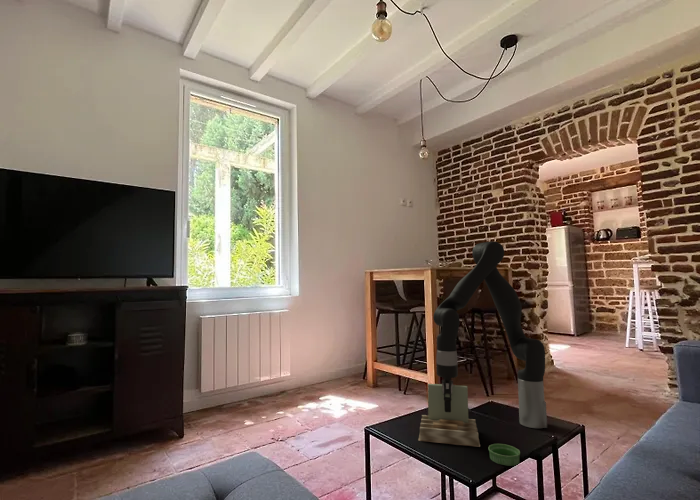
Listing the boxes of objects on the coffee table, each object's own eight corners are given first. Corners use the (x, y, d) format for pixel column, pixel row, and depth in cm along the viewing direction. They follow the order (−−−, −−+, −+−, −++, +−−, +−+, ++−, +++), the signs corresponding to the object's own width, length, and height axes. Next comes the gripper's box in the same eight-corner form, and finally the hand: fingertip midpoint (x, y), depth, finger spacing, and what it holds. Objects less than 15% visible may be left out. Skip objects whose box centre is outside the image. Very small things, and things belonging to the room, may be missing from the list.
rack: (477, 435, 135) (476, 419, 136) (480, 451, 122) (480, 433, 122) (420, 430, 140) (420, 414, 141) (418, 445, 127) (418, 428, 127)
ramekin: (525, 473, 108) (524, 456, 108) (492, 471, 109) (492, 455, 109) (515, 459, 117) (514, 444, 117) (485, 457, 118) (485, 442, 118)
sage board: (468, 431, 135) (467, 386, 136) (468, 433, 133) (467, 387, 134) (428, 428, 138) (428, 383, 140) (428, 430, 136) (427, 384, 138)
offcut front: (457, 439, 127) (457, 424, 128) (457, 442, 125) (457, 426, 126) (433, 437, 129) (433, 422, 130) (433, 439, 127) (433, 424, 128)
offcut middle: (463, 435, 131) (462, 420, 131) (463, 437, 129) (463, 422, 130) (439, 433, 133) (439, 418, 133) (439, 435, 131) (439, 420, 132)
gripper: (458, 367, 130) (459, 415, 128) (456, 359, 144) (457, 403, 142) (436, 365, 132) (436, 413, 130) (436, 358, 146) (437, 401, 144)
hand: (447, 408), depth 136 cm, fingers open, 8 cm apart
